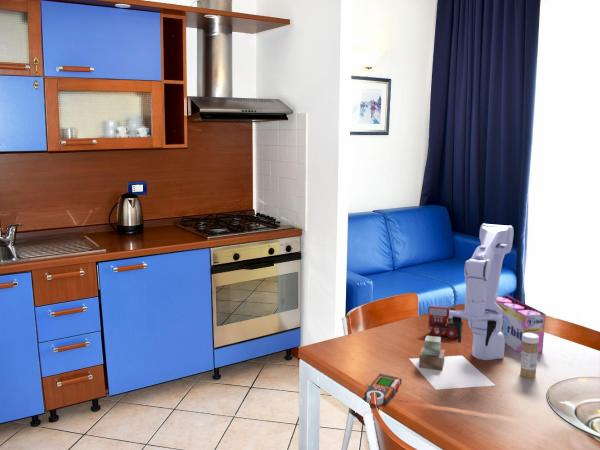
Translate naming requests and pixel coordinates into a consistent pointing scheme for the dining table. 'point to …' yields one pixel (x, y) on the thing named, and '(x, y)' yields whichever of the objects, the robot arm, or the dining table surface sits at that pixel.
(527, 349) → the sprinkles bottle
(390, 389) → the electronic device
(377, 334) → the dining table surface
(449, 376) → the build board
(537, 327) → the gum box
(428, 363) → the walnut plinth
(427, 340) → the sage cube
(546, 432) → the dining table surface
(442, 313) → the toy fire truck
